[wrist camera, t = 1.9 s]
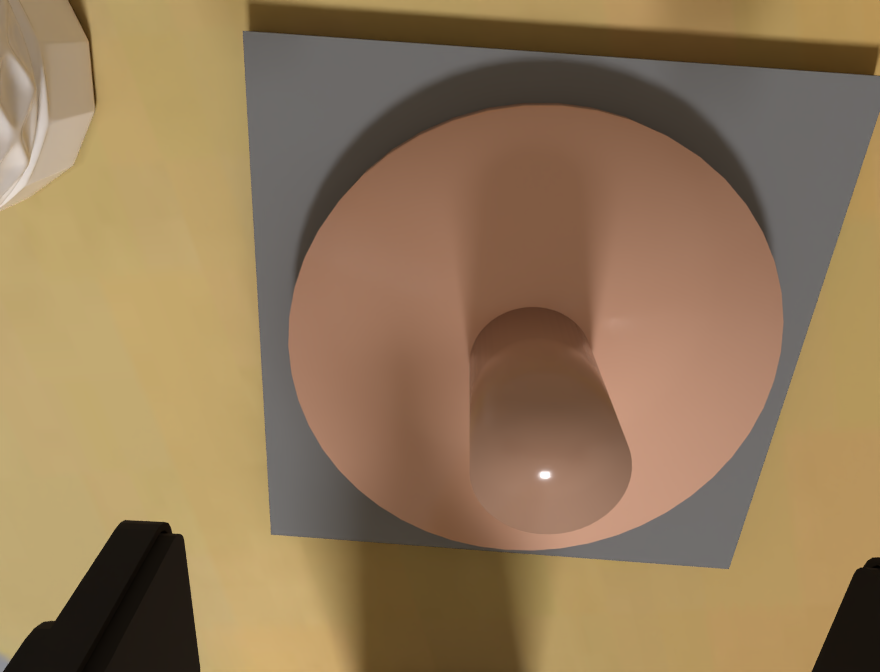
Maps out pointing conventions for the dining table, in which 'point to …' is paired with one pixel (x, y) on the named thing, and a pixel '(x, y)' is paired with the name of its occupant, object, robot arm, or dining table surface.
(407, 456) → the lid
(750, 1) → the dining table surface
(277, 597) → the dining table surface
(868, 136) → the mat
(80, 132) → the white cup
